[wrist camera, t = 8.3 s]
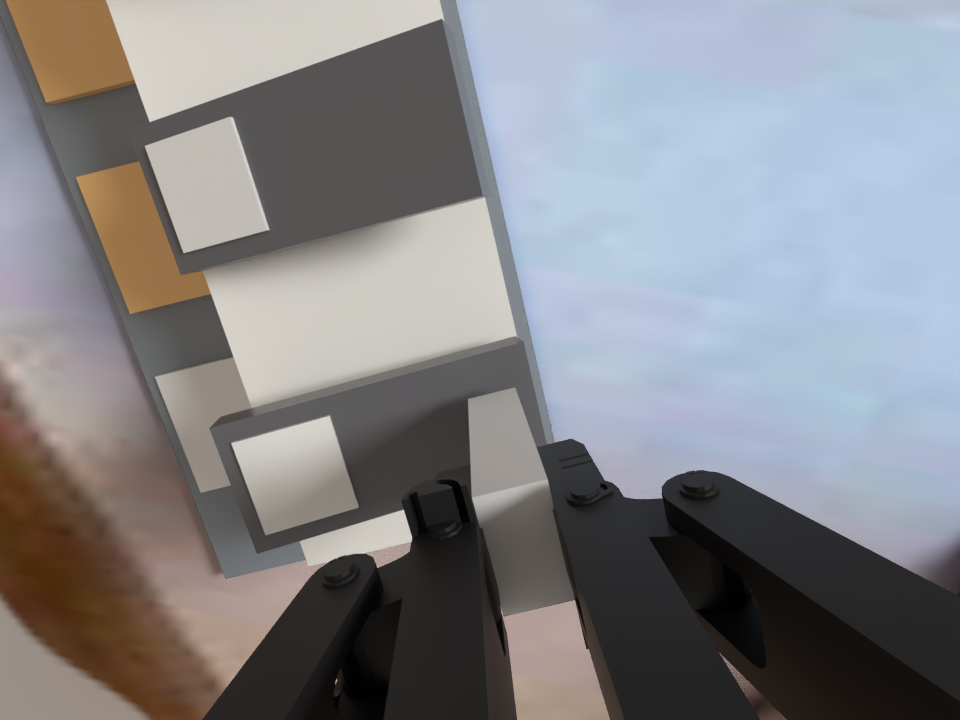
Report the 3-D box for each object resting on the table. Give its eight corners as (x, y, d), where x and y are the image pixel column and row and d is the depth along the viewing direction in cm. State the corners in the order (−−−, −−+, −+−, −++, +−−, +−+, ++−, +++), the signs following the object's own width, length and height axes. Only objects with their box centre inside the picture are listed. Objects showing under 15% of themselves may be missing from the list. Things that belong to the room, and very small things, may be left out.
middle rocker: (453, 31, 15) (440, 16, 14) (491, 195, 16) (481, 195, 15) (157, 134, 17) (123, 129, 16) (205, 270, 18) (177, 275, 17)
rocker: (515, 335, 19) (524, 342, 18) (542, 452, 20) (553, 466, 19) (220, 416, 18) (207, 430, 16) (265, 535, 19) (255, 556, 17)
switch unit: (385, -302, 21) (342, -625, 13) (563, 487, 29) (603, 585, 21) (-63, -183, 21) (-373, -429, 13) (233, 567, 29) (148, 693, 21)
